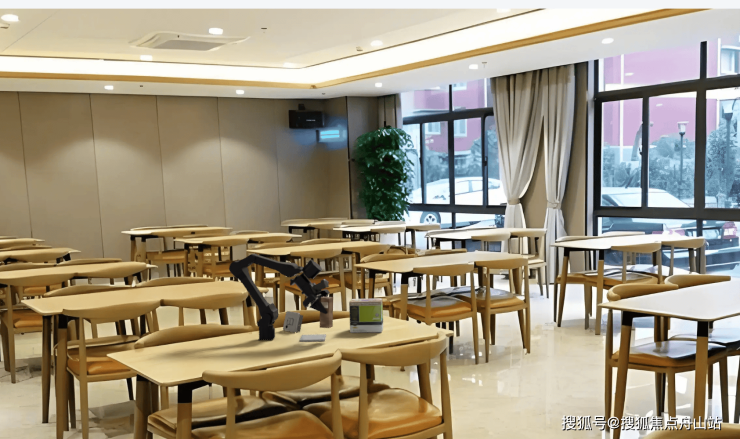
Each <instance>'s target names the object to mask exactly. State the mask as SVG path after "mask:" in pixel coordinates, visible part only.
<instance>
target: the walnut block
mask: <svg viewBox="0 0 740 439" xmlns="http://www.w3.org/2000/svg"><path fill="white" fill-rule="evenodd" d="M321 303H322V305H323V306H324V308H325V309H326V311H327V312H328V313H327V314H324V313H322V312H320V311H319V328H320V329H321V328H323V329H330V328H332V327H334V324H333V320H334V297H333V296H328V297H321Z"/></svg>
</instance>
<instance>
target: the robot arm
mask: <svg viewBox="0 0 740 439" xmlns="http://www.w3.org/2000/svg"><path fill="white" fill-rule="evenodd" d="M253 264H255V265H258V266H261V267H264V268H266V269H267V268H268V269H270V270H273V271H276V272H278V273H279V274H281V275H283V276H285V277H286V278H290V280H289V286H295V285H296V286H297V288H298V289H299V290H300V291H301V293H300V294H301V295H304V296H306V298H305V299H304V300H303V301H302V306H303V307H304V308H308V307H309V309H310V308H311V309H313V310H316V311H318V312H319V313H320V312H322V313H324V314H327V313H328V312H327V311H326V309H325V308H324V306H323V305H322V303H321V297H329V295H330V293H331V291H329V290H328V289H327V288H329V287H330V285H329V284H330V281H328V280H327V279H325V278H324V279H321V280H320V282H318V283H316V282H312V281H311V280H310V279H312V280H314V278H316V277H317V276H318V275H319V274H320V273H321V272H322V271H323V268H322V267H321V265H320V264H318V263H317V262H316V261H315V260H313V259H310V260H309V261H308V262H307V264H305V265H304V266H299V265H298V264H297V263H296V262H295V263H294V262H286V261H285V262H284V261H279V260H276V259H273V258H268V257H265V256H262V255H259V254H257V253H250V254H249V255H247V256H245V257H244V258H241V259H240V260H235V261H232V262H231V263H230V264H229V266H228V270H229V272H230V273H231V275H233V277H234V278H236V279H237V280H238V281H240V282H241V284H242V285H243V287H244V288H245V290H246V291H247V293H248V294H249V295H250V298H251V299H252V301H253V302H254V303H255V305H256V306H257V309H258V313H259V316H260V319H258V321H257V322H256V325H257V327H258V340H257V341H273V340H274V339H275V338H276V328H275V327H274V326H275V322H276V321H277V319H279V309H278V308H277V307H276V305H275V303H274V302H272V303H269V302H268V301H267V299H266V298H265V297H264V295H263V293H262V292H261V291H260V289H259V287H258V286H257V285H256V283H255V282H254V280H253V279H252V277H251V276H250V272H249V268H248V267H250V266H252V265H253ZM292 277H294V278H292Z"/></svg>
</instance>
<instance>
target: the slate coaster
mask: <svg viewBox="0 0 740 439" xmlns="http://www.w3.org/2000/svg"><path fill="white" fill-rule="evenodd" d="M326 338H327V334H320V333H319V334H316V333H315V334H301V336H300V338H299V342H303V343H304V342H326Z"/></svg>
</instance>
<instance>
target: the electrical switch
mask: <svg viewBox="0 0 740 439" xmlns="http://www.w3.org/2000/svg"><path fill="white" fill-rule="evenodd" d="M303 318H304V315H302V314H301V313H300V312H294V311H291V310H289V311H288V310H287V311H286V312H285V317H284V322H283V327H282V331H284V330H285V332H289V331H290V333H294V332H296V333H297V332H301V330H302V324H303V320H304V319H303Z"/></svg>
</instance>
